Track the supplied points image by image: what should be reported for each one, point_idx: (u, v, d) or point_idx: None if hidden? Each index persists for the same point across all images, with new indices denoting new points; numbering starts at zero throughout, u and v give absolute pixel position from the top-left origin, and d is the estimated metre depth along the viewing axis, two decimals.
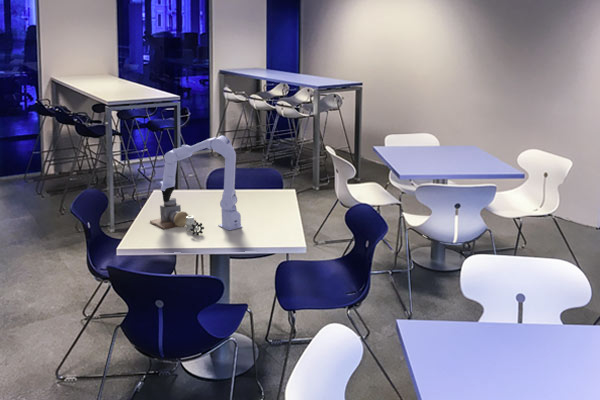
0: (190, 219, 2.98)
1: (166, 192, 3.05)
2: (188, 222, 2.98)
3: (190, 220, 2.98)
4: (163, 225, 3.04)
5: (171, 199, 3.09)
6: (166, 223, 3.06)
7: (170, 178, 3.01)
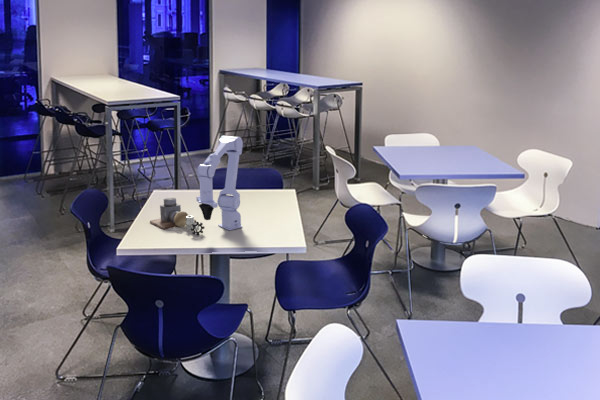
0: (190, 219, 2.98)
1: (208, 209, 2.83)
2: (188, 222, 2.98)
3: (190, 220, 2.98)
4: (163, 225, 3.04)
5: (171, 199, 3.09)
6: (166, 223, 3.06)
7: (212, 193, 2.81)
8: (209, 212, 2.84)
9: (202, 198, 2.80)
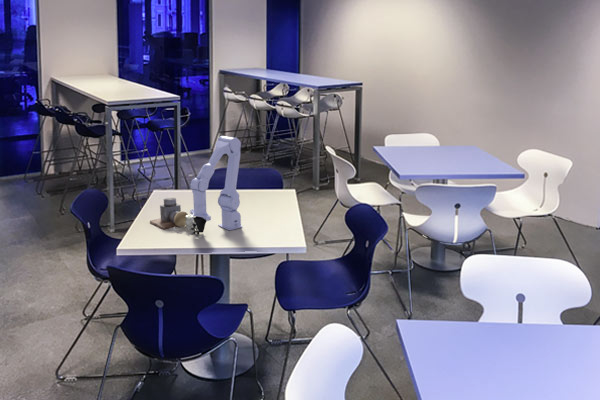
0: (190, 218, 2.99)
1: (201, 222, 2.90)
2: (188, 221, 2.99)
3: (190, 219, 2.99)
4: (163, 225, 3.04)
5: (171, 199, 3.09)
6: (166, 223, 3.06)
7: (205, 206, 2.88)
8: (202, 224, 2.91)
9: (196, 211, 2.87)
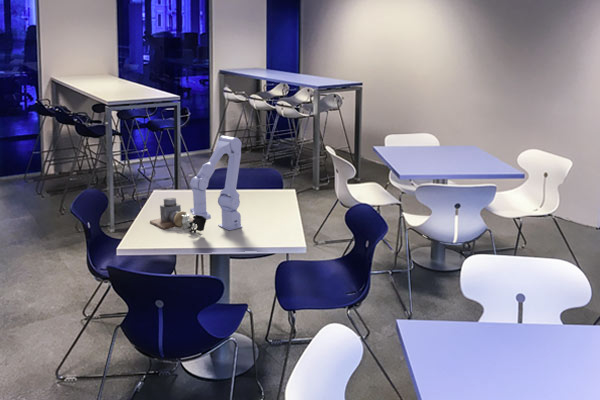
0: (186, 217, 3.01)
1: (201, 221, 2.90)
2: (184, 220, 3.01)
3: (186, 218, 3.01)
4: (163, 225, 3.04)
5: (171, 199, 3.09)
6: (166, 223, 3.06)
7: (205, 205, 2.87)
8: (202, 223, 2.91)
9: (196, 210, 2.87)
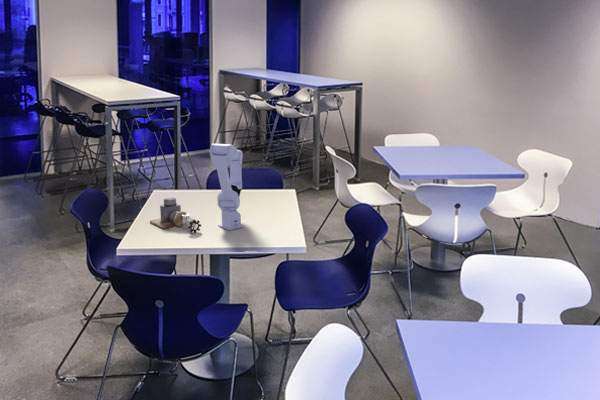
0: (186, 217, 3.01)
1: (236, 190, 3.15)
2: (184, 220, 3.01)
3: (186, 218, 3.01)
4: (163, 225, 3.04)
5: (171, 199, 3.09)
6: (166, 223, 3.06)
7: (240, 176, 3.12)
8: (237, 193, 3.16)
9: (231, 180, 3.13)
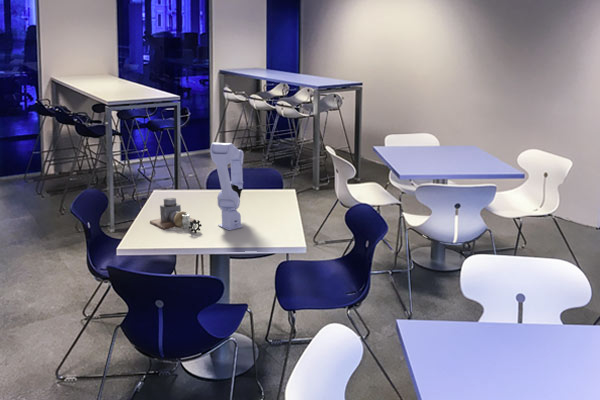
0: (186, 217, 3.01)
1: (237, 190, 3.16)
2: (184, 220, 3.01)
3: (186, 218, 3.01)
4: (163, 225, 3.04)
5: (171, 199, 3.09)
6: (166, 223, 3.06)
7: (240, 175, 3.13)
8: (238, 192, 3.17)
9: (232, 179, 3.14)
